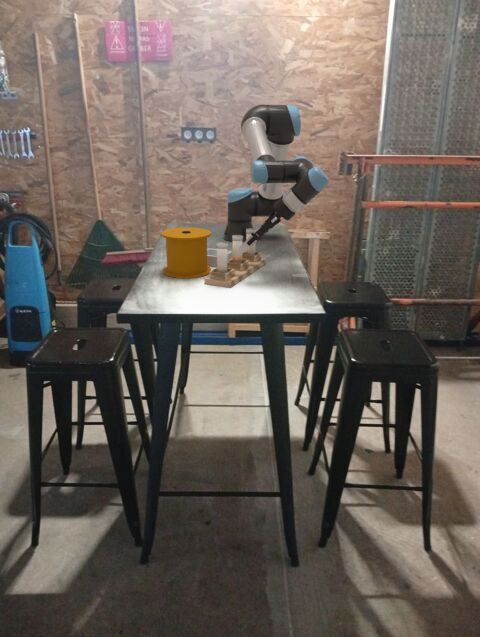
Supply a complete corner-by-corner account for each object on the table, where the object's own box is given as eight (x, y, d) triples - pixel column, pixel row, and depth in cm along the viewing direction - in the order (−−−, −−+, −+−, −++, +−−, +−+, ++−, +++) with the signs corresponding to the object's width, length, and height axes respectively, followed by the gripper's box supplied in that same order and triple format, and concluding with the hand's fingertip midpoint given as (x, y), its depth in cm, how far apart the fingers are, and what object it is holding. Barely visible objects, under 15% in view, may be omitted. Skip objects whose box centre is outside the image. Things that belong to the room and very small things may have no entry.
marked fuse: (234, 265, 182) (234, 234, 178) (243, 267, 181) (244, 235, 176) (230, 268, 179) (230, 236, 175) (239, 269, 178) (240, 237, 173)
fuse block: (242, 260, 197) (242, 249, 195) (265, 263, 193) (266, 252, 192) (204, 283, 168) (204, 271, 167) (230, 287, 165) (230, 275, 163)
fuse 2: (247, 257, 193) (248, 227, 189) (256, 258, 192) (257, 228, 187) (244, 260, 190) (244, 229, 186) (253, 261, 189) (253, 230, 184)
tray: (208, 257, 201) (208, 248, 199) (232, 260, 197) (233, 251, 195) (196, 264, 191) (195, 254, 190) (221, 267, 187) (221, 257, 186)
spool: (213, 277, 175) (213, 236, 170) (163, 279, 173) (161, 238, 167) (208, 264, 192) (208, 226, 186) (162, 265, 189) (161, 227, 183)
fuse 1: (219, 275, 171) (219, 241, 167) (229, 276, 170) (229, 242, 165) (214, 278, 168) (214, 244, 164) (224, 279, 167) (224, 245, 162)
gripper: (291, 219, 155) (245, 261, 164) (300, 207, 178) (259, 245, 187) (276, 202, 155) (230, 245, 163) (286, 192, 177) (246, 230, 186)
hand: (245, 245), depth 175 cm, fingers open, 13 cm apart
